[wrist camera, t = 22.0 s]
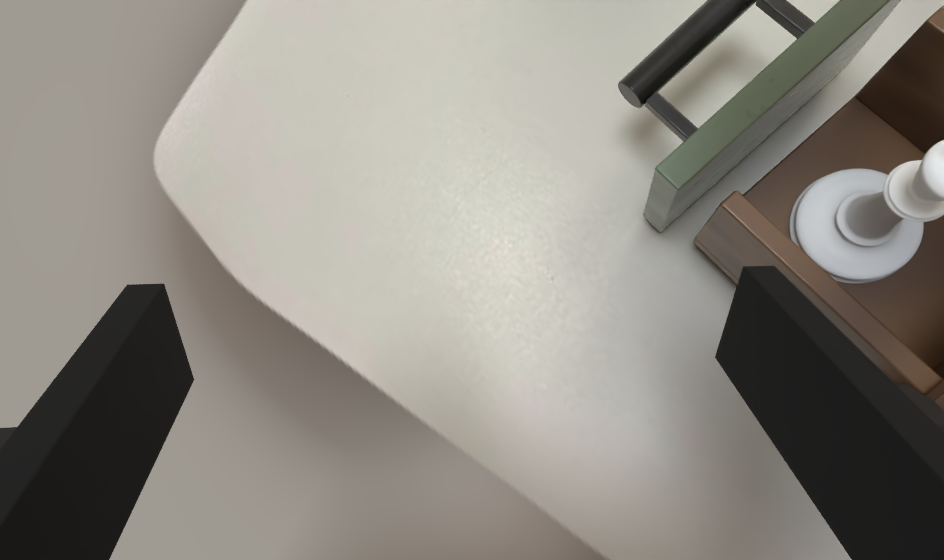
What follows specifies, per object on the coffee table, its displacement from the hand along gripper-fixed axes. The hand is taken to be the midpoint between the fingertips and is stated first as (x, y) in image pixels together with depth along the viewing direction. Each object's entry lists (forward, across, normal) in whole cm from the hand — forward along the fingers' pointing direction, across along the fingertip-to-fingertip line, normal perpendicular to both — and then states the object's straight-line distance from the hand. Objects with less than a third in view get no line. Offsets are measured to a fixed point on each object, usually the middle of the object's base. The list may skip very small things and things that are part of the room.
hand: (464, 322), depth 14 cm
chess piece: (+10, +18, -3) cm, 20 cm away
